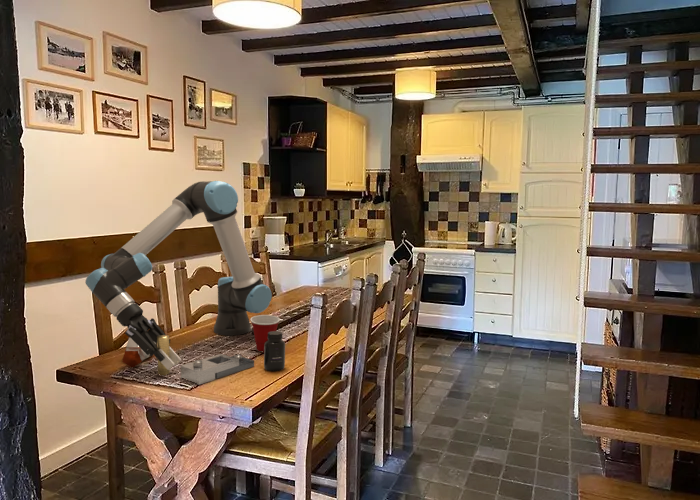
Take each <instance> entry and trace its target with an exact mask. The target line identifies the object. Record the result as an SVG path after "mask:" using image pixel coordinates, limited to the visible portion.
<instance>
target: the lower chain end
mask: <svg viewBox="0 0 700 500" xmlns="http://www.w3.org/2000/svg"><path fill="white" fill-rule="evenodd" d="M231 357H233V358H236V359H239V366H236V367H233V368H230V369H227V370H223V371H220V372H217V373H215V380H218V379H221V378H224V377H227V376H229V375H232V374H235V373H239V372H241V371H245V370H248V369H251V368H253V367H255V360H254V359H251V358H246V357H243V354H237V353H236V354H234V355H232V356H231ZM219 363H221V362H219ZM219 363H216V364H219Z"/></svg>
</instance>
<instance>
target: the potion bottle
mask: <svg viewBox="0 0 700 500" xmlns="http://www.w3.org/2000/svg"><path fill="white" fill-rule="evenodd" d="M154 343H155V342H154ZM155 344H156V343H155ZM149 357H151V356H150V354H149V355H147V354H146V353H145V352H144V351H143V350H142V349H141V348H140V347H139V346H138V345H137V344H136V343H135V342H134V341H133V340H132V339H131V338H130V337H128V339H127V343H126V348H125V351H124V354H123V356H122V361H121V362H122V363H123V364H125V365H126V366H128V367H130V368H132V367H133V368H134V367H137V365H140V363H142V362H143V361H144V360H146V359H147V358H149Z"/></svg>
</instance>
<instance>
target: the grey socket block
mask: <svg viewBox="0 0 700 500" xmlns="http://www.w3.org/2000/svg"><path fill="white" fill-rule="evenodd" d="M219 362H221V363H219ZM216 363H219V364H216ZM236 366H239V359H236V358H233V357H232V356H229V355H226V354H222V353H219V354H216V355H213V356H209V357H208V356H207V357H205V358H203V359H196V360H194V361H192V362H187V363H186V364H181V365H180V379H182V378H184V379H187V380H190V381H192V382H195V383H197V384H196V385H198V386H199V385H203V384H206V383H210V382H212V381H215V380H216V379H215V373H217V372H220V371H223V370H227V369H230V368H233V367H236ZM184 379H183V380H184ZM187 380H186V381H187ZM190 381H189V382H190ZM192 382H191V383H192ZM195 383H194V384H195Z"/></svg>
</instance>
